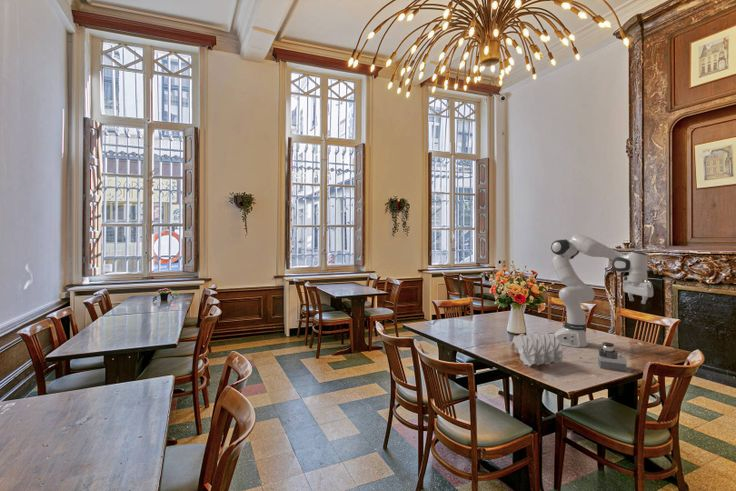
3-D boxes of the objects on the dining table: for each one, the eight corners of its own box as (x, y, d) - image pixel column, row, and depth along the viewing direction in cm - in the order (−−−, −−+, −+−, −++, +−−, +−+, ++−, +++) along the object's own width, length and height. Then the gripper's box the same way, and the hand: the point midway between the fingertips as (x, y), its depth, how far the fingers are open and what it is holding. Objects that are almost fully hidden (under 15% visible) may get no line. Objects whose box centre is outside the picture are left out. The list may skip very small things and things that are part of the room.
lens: (603, 356, 212) (603, 344, 211) (601, 354, 216) (601, 341, 216) (614, 357, 209) (614, 345, 209) (612, 355, 214) (612, 342, 214)
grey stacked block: (599, 368, 211) (600, 352, 210) (597, 363, 219) (598, 347, 219) (626, 371, 206) (626, 355, 205) (623, 366, 214) (623, 350, 214)
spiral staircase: (561, 371, 216) (524, 373, 209) (541, 349, 231) (507, 351, 224) (574, 346, 208) (536, 348, 201) (553, 326, 224) (517, 326, 216)
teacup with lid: (524, 350, 242) (525, 332, 242) (533, 354, 233) (533, 335, 233) (507, 350, 240) (507, 332, 240) (514, 355, 231) (515, 336, 231)
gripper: (657, 281, 214) (656, 305, 214) (631, 277, 234) (630, 299, 235) (646, 281, 214) (645, 305, 214) (621, 276, 234) (620, 299, 235)
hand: (637, 302), depth 225 cm, fingers open, 8 cm apart
